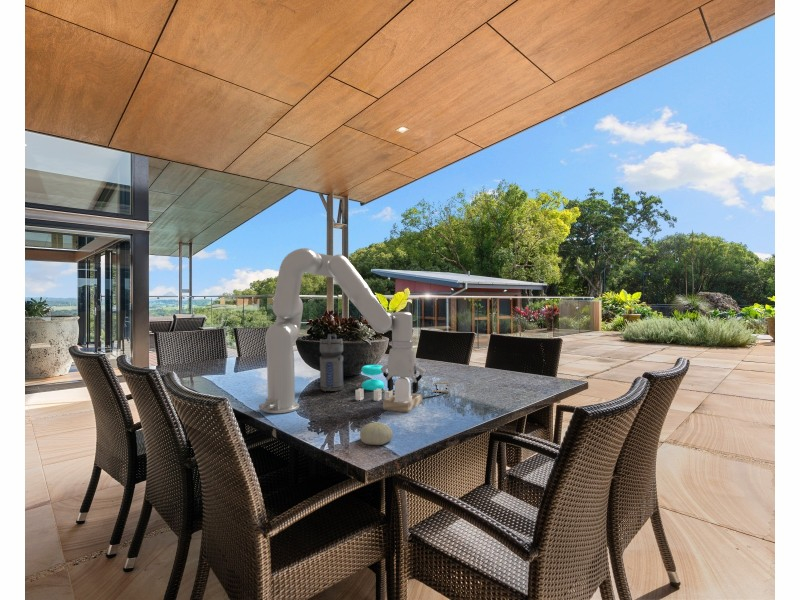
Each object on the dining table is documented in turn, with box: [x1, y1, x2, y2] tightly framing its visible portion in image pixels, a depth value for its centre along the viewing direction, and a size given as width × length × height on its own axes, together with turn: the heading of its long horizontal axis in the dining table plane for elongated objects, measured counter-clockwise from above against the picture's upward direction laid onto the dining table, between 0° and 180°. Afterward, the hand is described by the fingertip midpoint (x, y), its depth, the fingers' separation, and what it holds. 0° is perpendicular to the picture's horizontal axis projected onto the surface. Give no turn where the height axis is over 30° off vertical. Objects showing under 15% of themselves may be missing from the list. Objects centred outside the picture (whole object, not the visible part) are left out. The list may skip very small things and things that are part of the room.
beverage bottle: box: [319, 333, 345, 392], centre depth 179 cm, size 10×13×25 cm
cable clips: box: [354, 388, 394, 402], centre depth 159 cm, size 5×14×4 cm, turn 67°
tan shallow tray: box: [382, 393, 423, 413], centre depth 150 cm, size 15×10×3 cm, turn 157°
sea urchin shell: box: [359, 421, 394, 446], centre depth 113 cm, size 9×8×8 cm
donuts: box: [361, 364, 385, 391], centre depth 180 cm, size 10×10×10 cm
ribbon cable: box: [382, 382, 451, 399], centre depth 173 cm, size 29×1×30 cm
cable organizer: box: [393, 377, 412, 403], centre depth 150 cm, size 5×10×10 cm, turn 167°
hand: (402, 391), depth 150 cm, fingers open, 9 cm apart
